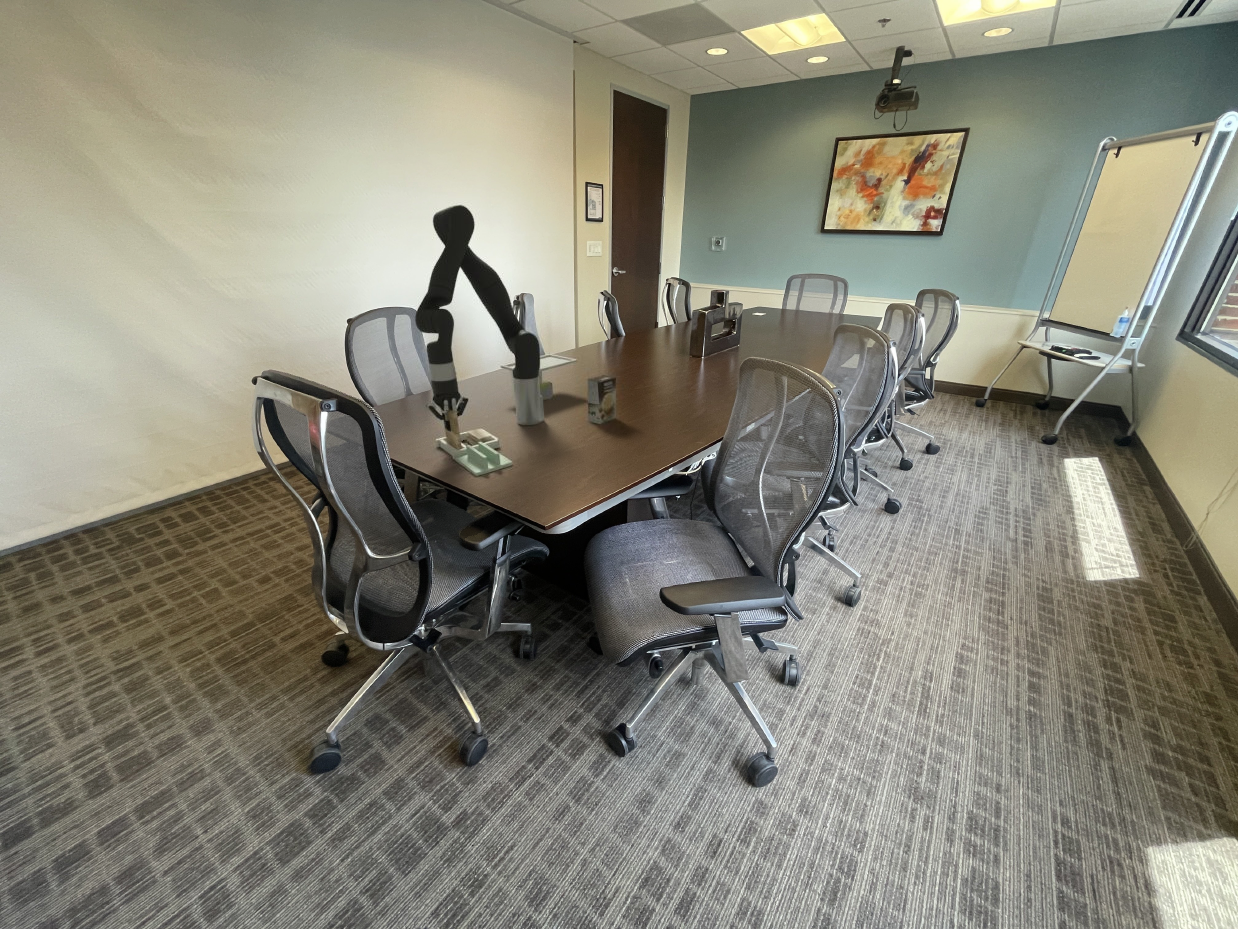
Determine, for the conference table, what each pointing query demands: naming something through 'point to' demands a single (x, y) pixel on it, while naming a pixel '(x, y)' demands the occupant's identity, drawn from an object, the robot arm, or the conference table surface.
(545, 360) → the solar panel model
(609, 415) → the coffee box
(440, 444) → the rack
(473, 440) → the offcut stack
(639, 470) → the conference table surface
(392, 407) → the conference table surface
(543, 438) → the conference table surface
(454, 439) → the wooden board
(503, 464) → the stand
